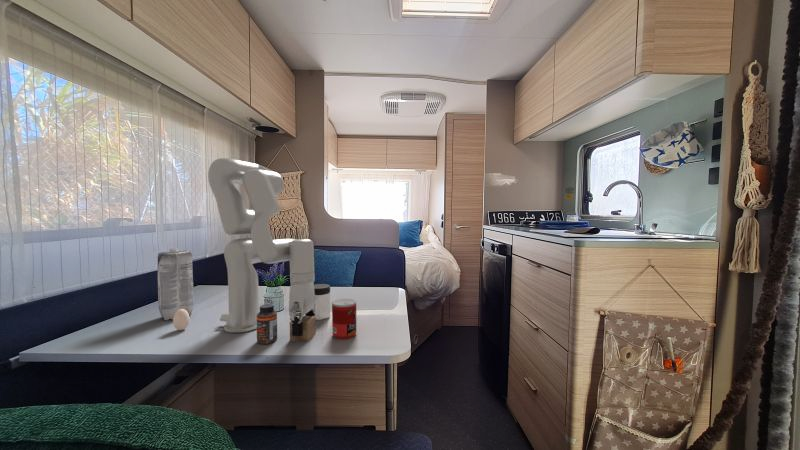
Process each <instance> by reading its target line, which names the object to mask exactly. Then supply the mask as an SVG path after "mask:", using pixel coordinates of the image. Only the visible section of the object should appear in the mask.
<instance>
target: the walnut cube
mask: <svg viewBox="0 0 800 450" xmlns="http://www.w3.org/2000/svg"><path fill="white" fill-rule="evenodd" d="M297 318H298V319H299V316H297ZM301 323H303V335H302V336H293V335H292V324H291V320H290V321H289V342H290V341H295V342H309V341H310V340H311V339H312V338H313V337H314V336H315V335H316V320H315V316H305V315H303V317H302V321H301Z"/></svg>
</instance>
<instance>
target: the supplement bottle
mask: <svg viewBox="0 0 800 450" xmlns="http://www.w3.org/2000/svg"><path fill="white" fill-rule="evenodd" d="M274 307H275V306H274V304H273V303H265V304H261V305H259V313H258V314H257V329H256V342H257V343H258V344H260V345H268V344H272V343H274V342H276V341H277V339H278V312H277V311H276V310H275V308H274Z"/></svg>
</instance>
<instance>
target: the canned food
mask: <svg viewBox="0 0 800 450" xmlns="http://www.w3.org/2000/svg"><path fill="white" fill-rule="evenodd" d="M331 318H332V319H331V321H332V322H331V324H332V336H333V337H334V338H336V339H337V340H347V339H351V338H353V337H355V336H356V334H357V301H356V300H354V299H351V298H340V299H335V300H334V301H332V303H331Z"/></svg>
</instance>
